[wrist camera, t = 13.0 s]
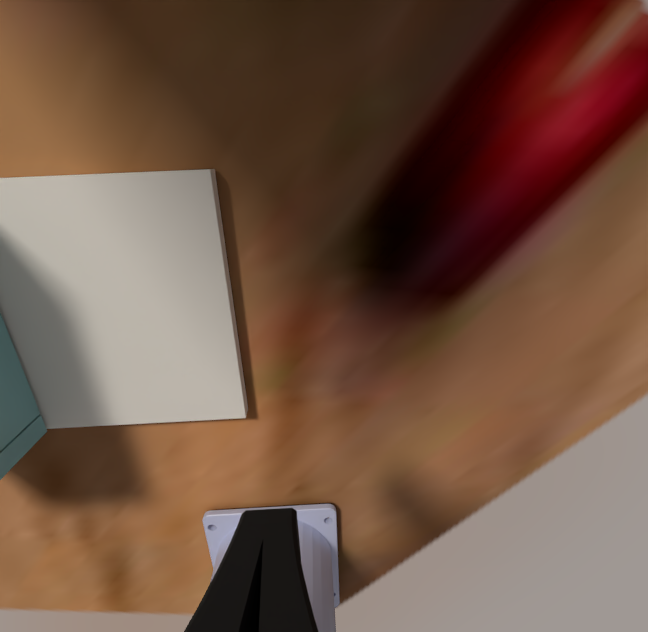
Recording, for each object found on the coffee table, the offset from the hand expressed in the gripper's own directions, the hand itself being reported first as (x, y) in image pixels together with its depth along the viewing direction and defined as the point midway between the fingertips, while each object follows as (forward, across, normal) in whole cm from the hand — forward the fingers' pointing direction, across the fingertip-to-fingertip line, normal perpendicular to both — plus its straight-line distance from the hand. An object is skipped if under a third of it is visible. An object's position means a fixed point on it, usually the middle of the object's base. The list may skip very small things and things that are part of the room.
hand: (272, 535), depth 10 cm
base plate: (+10, +12, -3) cm, 15 cm away
